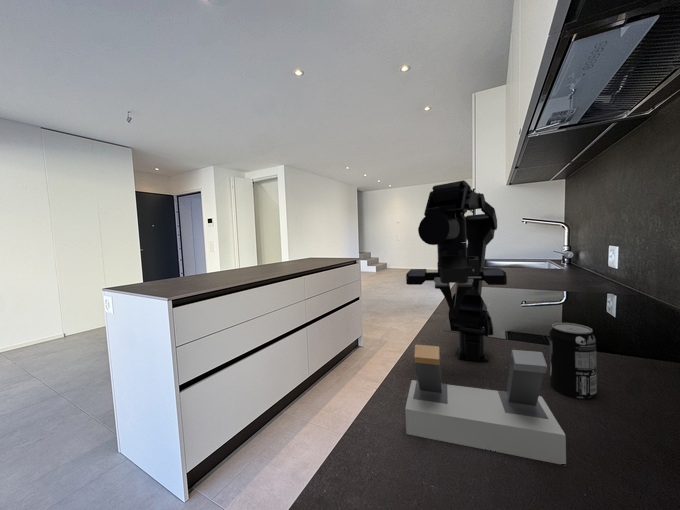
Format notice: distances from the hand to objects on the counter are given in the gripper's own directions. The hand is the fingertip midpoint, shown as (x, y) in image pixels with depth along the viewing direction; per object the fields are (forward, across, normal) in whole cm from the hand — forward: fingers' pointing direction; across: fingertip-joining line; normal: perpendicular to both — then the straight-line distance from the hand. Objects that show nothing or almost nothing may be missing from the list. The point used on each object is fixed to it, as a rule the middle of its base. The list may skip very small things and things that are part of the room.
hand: (454, 316), depth 57 cm
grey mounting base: (+13, +2, -16) cm, 21 cm away
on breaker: (+8, +8, -14) cm, 19 cm away
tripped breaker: (+8, -4, -14) cm, 17 cm away
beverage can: (+13, +20, 0) cm, 24 cm away
